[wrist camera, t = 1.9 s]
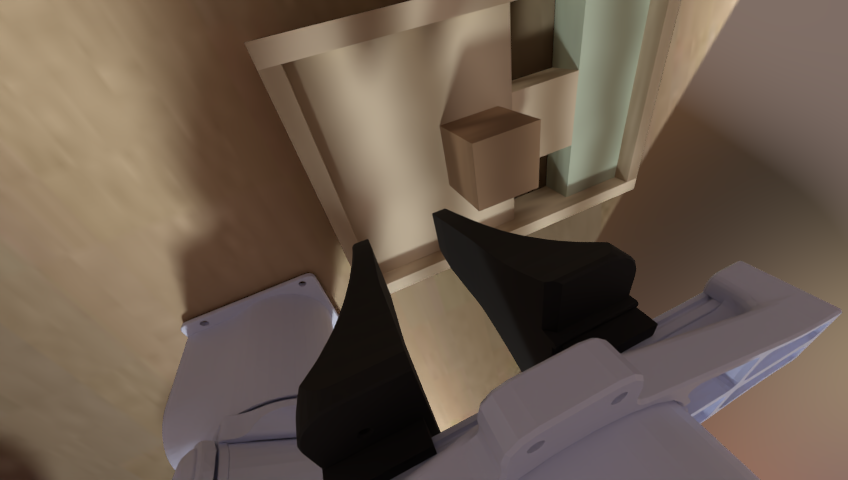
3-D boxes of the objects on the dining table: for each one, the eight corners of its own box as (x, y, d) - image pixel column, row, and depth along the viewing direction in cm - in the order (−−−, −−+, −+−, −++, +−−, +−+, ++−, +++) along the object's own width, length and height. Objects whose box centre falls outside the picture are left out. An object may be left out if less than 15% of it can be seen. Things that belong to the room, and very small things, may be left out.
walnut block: (449, 185, 20) (479, 211, 17) (439, 125, 18) (472, 143, 15) (500, 165, 21) (538, 187, 18) (498, 105, 19) (541, 119, 16)
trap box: (358, 272, 25) (368, 303, 22) (251, 41, 15) (243, 42, 12) (598, 173, 29) (633, 188, 26) (636, -56, 19) (699, -73, 16)
